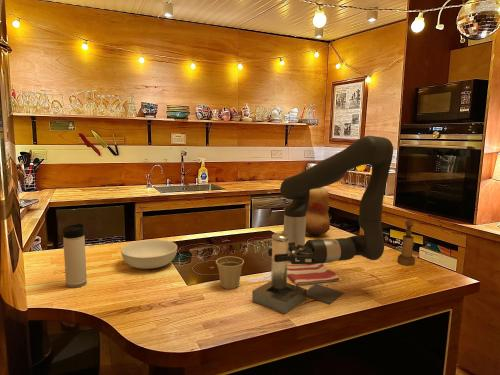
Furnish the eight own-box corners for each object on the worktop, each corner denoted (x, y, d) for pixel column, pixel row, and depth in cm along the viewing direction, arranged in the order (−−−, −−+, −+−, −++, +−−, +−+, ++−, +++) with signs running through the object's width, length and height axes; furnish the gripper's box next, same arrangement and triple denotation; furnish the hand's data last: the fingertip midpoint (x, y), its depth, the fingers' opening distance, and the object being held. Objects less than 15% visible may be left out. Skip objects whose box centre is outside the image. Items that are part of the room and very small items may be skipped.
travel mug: (91, 281, 123) (88, 224, 120) (76, 289, 117) (73, 229, 114) (77, 278, 125) (74, 222, 122) (61, 286, 119) (58, 227, 116)
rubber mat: (301, 294, 116) (301, 293, 116) (316, 285, 124) (316, 283, 124) (329, 304, 110) (329, 303, 110) (343, 293, 118) (343, 292, 118)
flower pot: (222, 293, 116) (222, 268, 115) (211, 282, 124) (211, 258, 123) (248, 288, 120) (248, 263, 119) (236, 278, 129) (236, 254, 127)
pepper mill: (416, 266, 144) (420, 222, 141) (399, 265, 145) (402, 221, 142) (412, 260, 150) (416, 218, 147) (395, 259, 151) (399, 217, 149)
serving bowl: (109, 269, 134) (108, 251, 133) (145, 252, 153) (145, 237, 152) (155, 278, 127) (155, 260, 126) (187, 260, 146) (187, 243, 145)
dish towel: (312, 260, 149) (312, 254, 149) (341, 283, 127) (341, 276, 127) (273, 263, 145) (274, 257, 145) (296, 288, 123) (296, 280, 122)
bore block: (252, 301, 111) (252, 290, 111) (274, 288, 120) (275, 278, 120) (284, 314, 104) (285, 302, 103) (306, 299, 113) (306, 289, 112)
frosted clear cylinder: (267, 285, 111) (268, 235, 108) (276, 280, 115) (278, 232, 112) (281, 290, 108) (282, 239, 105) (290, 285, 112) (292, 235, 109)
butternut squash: (301, 238, 179) (303, 188, 175) (302, 231, 192) (304, 184, 188) (329, 240, 177) (332, 189, 173) (328, 232, 190) (331, 185, 186)
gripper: (333, 270, 108) (279, 276, 103) (311, 254, 121) (263, 258, 116) (334, 246, 106) (280, 251, 102) (313, 232, 120) (264, 236, 115)
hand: (271, 255), depth 109 cm, fingers closed on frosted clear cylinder, 4 cm apart
